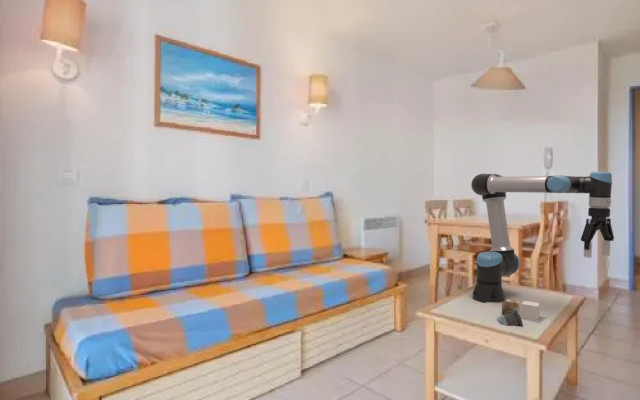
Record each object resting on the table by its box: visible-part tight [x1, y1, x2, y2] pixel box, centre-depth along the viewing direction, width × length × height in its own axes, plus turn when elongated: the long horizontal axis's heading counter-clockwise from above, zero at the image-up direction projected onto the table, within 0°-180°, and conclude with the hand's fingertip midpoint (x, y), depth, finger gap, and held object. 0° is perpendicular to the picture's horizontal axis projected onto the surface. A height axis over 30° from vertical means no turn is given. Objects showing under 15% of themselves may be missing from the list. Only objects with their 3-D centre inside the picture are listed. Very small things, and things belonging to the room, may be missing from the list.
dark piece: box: [496, 309, 524, 327], centre depth 153 cm, size 10×7×12 cm
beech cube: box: [506, 298, 520, 314], centre depth 168 cm, size 5×5×5 cm
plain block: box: [521, 300, 541, 321], centre depth 159 cm, size 6×6×6 cm
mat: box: [518, 311, 547, 324], centre depth 159 cm, size 10×10×1 cm
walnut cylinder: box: [501, 300, 513, 316], centre depth 162 cm, size 4×4×6 cm
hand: (596, 256), depth 161 cm, fingers open, 13 cm apart
